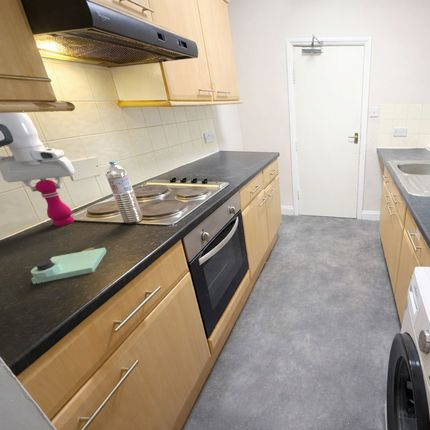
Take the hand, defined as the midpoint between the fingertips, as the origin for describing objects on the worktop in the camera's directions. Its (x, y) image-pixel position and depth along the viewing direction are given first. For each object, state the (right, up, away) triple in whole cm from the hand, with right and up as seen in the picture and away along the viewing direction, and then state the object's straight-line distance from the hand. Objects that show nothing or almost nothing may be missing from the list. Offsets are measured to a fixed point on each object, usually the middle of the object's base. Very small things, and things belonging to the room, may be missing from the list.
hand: (48, 189), depth 104 cm
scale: (+31, -26, -22) cm, 46 cm away
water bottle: (+29, -13, +7) cm, 32 cm away
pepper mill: (0, -13, +6) cm, 15 cm away
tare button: (+28, -25, -28) cm, 47 cm away
